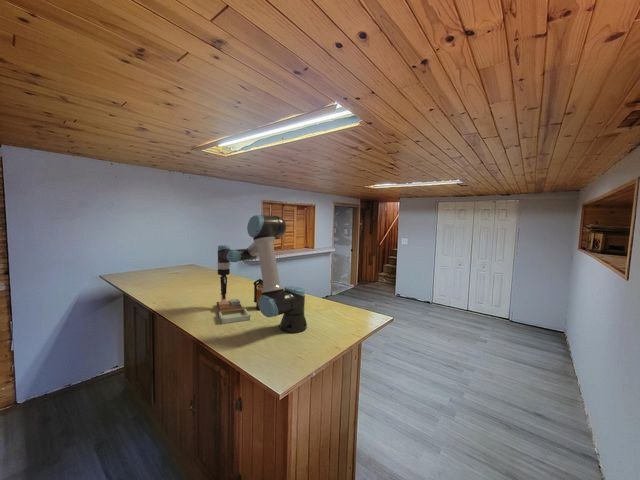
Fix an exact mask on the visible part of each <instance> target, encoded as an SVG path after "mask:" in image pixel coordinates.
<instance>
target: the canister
mask: <svg viewBox="0 0 640 480" xmlns="http://www.w3.org/2000/svg"><path fill="white" fill-rule="evenodd" d="M253 286H254V287H253V293H254V294H253V295H254V296H253V303H255V305H256V306H255V309H258V310H260V309H259V305H258V301H259V298H260V297H261V296H262V293H261V292H262V290H263V289H264V286H263V280H262V278H259V279H257V280H255V281H254V282H253Z"/></svg>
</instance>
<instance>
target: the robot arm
mask: <svg viewBox="0 0 640 480" xmlns="http://www.w3.org/2000/svg"><path fill="white" fill-rule="evenodd" d="M246 230H247V234H248V236H249V237H250V238H253V242H252V243H251V244H250V245H249V246H248V247H247V248H240V249H239V248H237V249H231V246H230V245H228V244H227V245H226V244H222V245H218V247H217V275H218V276H220V278H219V279H220V297H221V298H220V300H221V301H227V286H228V277H227V276H228V275H230V273H231V271H230V268H231V264H232V263H238V262H241V261H243V262H244V261H253V260H256V259H259V266H260V272H261V280H263V286H264V289H263V290H262V292H261V293H262V296H261V297H260V298H259V301H258V305H259V309H258V310H259V311H260V313H261V314H262V315H263V316H265V317H266V318H274V317H277V316H280V315H282V318H281V321H280V323H279V328H280V330H281V331H282V332H285V333H291V334H298V333H302V332H304V331H306V329H308V322H307V319H306V316H305V305H306V304H305V301H306V300H305V299H306V294H305V292H306V291H305V290H304V288H302V287H298V286H293V285H292V286H291V285H290V286H289V285H287V286H285V287H283V286H281V284H280V277H279V272H278V271H279V270H278V266H277V265H278V263H277V258H276V253H275V245H274V241H275V240H279V239H281V238H282V237H283V236H284V235H285V233H287V232H286V231H287V223H286V221H285V220H284V219H283V218H282V217H280V216H279V215H267V214H259V215H258V214H257V215H252V216H251V217H250V218H249V220H248V223H247V229H246ZM221 301H220V302H221Z"/></svg>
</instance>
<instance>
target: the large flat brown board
mask: <svg viewBox="0 0 640 480" xmlns="http://www.w3.org/2000/svg"><path fill="white" fill-rule="evenodd" d="M219 302H220V301H216V308H217V310H218V313H219V312H221V313H222V315H229V314H237V313H244V309H245V308H243V306H242V304H241V303H240V305H235V306H230V307H227V308H220V307H219Z"/></svg>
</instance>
